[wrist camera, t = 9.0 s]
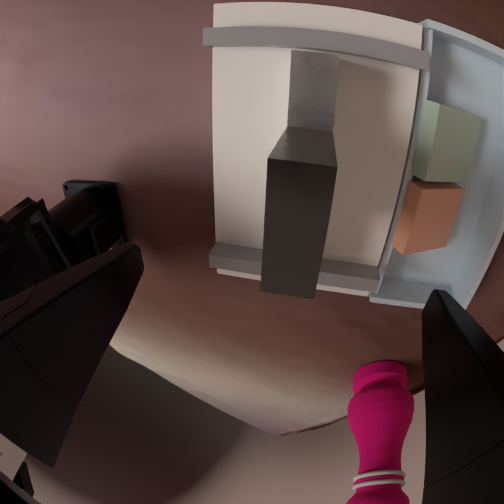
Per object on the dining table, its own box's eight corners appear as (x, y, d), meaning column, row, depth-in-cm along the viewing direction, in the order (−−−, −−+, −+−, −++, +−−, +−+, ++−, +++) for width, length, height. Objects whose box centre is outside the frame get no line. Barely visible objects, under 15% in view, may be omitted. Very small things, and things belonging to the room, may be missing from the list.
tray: (366, 276, 23) (370, 306, 20) (412, 25, 12) (430, 17, 10) (450, 288, 22) (461, 317, 19) (513, 65, 11) (541, 69, 8)
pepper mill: (420, 376, 29) (423, 542, 13) (369, 397, 33) (356, 549, 17) (392, 347, 27) (391, 547, 11) (336, 373, 31) (313, 549, 15)
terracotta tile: (391, 244, 18) (402, 255, 17) (409, 180, 16) (422, 189, 15) (435, 237, 19) (445, 246, 18) (452, 181, 17) (465, 189, 16)
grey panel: (282, 249, 20) (256, 348, 13) (297, 53, 13) (272, 38, 6) (312, 254, 19) (300, 355, 13) (336, 58, 13) (350, 45, 6)
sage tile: (411, 172, 15) (424, 181, 15) (424, 98, 13) (439, 103, 12) (454, 175, 17) (467, 182, 16) (468, 112, 14) (481, 117, 13)
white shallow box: (228, 250, 25) (210, 286, 21) (229, 12, 14) (203, -1, 11) (364, 271, 23) (368, 311, 19) (408, 30, 13) (431, 22, 9)
